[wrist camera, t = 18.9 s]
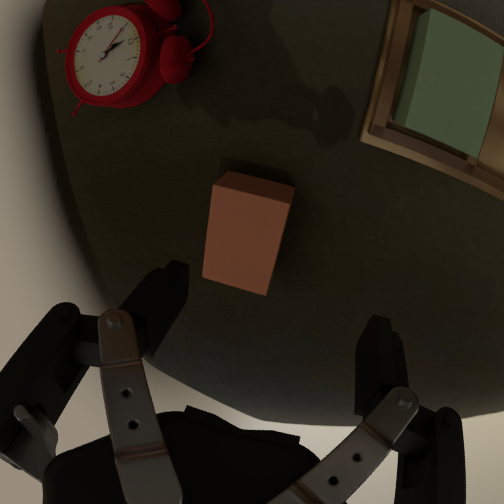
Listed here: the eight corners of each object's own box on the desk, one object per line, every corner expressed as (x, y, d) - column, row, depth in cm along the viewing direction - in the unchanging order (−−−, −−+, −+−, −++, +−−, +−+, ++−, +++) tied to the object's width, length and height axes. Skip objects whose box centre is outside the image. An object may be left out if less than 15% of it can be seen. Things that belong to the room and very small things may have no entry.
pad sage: (415, 18, 15) (431, 7, 12) (481, 50, 15) (504, 47, 11) (392, 120, 20) (404, 126, 17) (457, 147, 20) (477, 159, 16)
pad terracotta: (228, 170, 27) (213, 184, 23) (295, 186, 26) (290, 204, 23) (215, 254, 31) (201, 277, 28) (273, 271, 31) (265, 296, 27)
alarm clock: (48, 41, 19) (155, -50, 12) (96, 35, 24) (206, -34, 16) (70, 133, 24) (188, 74, 16) (117, 117, 28) (236, 70, 21)
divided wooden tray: (393, -13, 15) (399, -22, 13) (557, 82, 13) (572, 85, 11) (358, 139, 23) (362, 145, 20) (520, 209, 21) (532, 220, 19)
